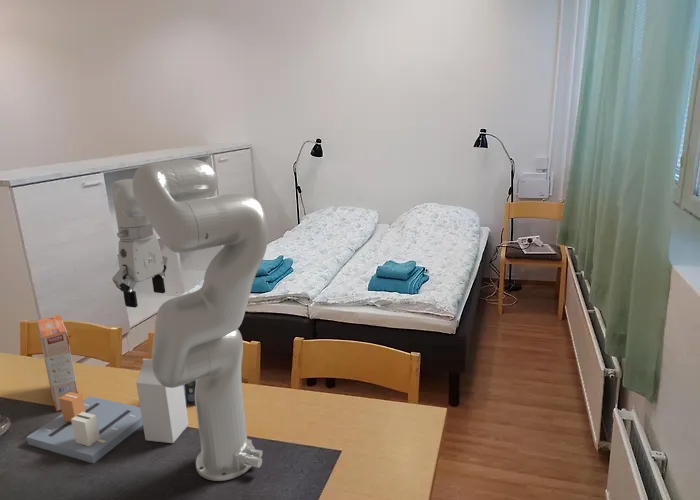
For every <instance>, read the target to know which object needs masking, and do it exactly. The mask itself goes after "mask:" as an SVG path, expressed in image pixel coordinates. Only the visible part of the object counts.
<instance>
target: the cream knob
mask: <svg viewBox="0 0 700 500" xmlns="http://www.w3.org/2000/svg"><path fill="white" fill-rule="evenodd" d="M71 421H72V426H73V431H74V436H75V441H76V443H79V444H83V445H86V446H91V445H92V444H93V443H95V442H96V441H97V440H99V439H100V435H99V429H98V424H97V419H96V415H93V414H89V413H85V412H81V413H80V414H78V415H77V416H75V417H74V418H72V419H71Z"/></svg>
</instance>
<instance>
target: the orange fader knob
mask: <svg viewBox="0 0 700 500" xmlns="http://www.w3.org/2000/svg"><path fill="white" fill-rule="evenodd" d="M59 400H60V405H61V410H60V411H61V414H63V419H64V421H68V422H72V421H71V419H72V418H74V417H75V416H77V415H78V414H80V413H81V412H85V413H86V411H85V406H84V401H83V400H84V396H83V394H81V393H78V394H77V393H73V392H69V393H67V394H65V395H64V396H62V397H61V398H59Z"/></svg>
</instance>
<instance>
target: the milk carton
mask: <svg viewBox="0 0 700 500" xmlns="http://www.w3.org/2000/svg"><path fill="white" fill-rule="evenodd" d="M135 381H136V382H135V384H136V389H137V395H138V401H139V407H140V409H141V415H142V421H143V425H142V426H143V432H144V439H145V441H149V442H160V443H169V444H174V443H175V441H176V440H177V439H178V438H179V437H180V436H181V435H182V433H183V432H184V431H185V430H186V429H187V427H188V426H189V418H188V410H187V404H186V402H185V394H184V387H183V385H182V386H179V387H175V388H168V387H165V386H163V385H162V384H160V383H159V381H158V380H157V379H156V377H155V375H154V372H153V367H152V358H142V365H141V368H140V371H139V373H138V376H137V379H136V380H135Z"/></svg>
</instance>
